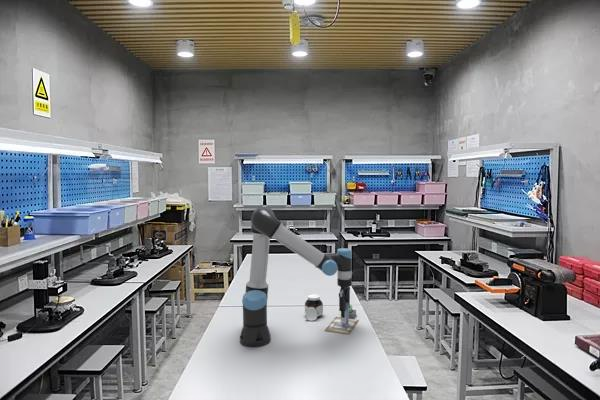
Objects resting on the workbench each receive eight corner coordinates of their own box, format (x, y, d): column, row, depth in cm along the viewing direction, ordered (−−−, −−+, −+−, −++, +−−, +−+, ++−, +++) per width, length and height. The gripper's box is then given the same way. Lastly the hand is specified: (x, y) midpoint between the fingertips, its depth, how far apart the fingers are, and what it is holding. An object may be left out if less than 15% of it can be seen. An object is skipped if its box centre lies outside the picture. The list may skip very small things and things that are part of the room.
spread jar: (319, 312, 237) (319, 293, 236) (327, 319, 226) (327, 299, 225) (300, 315, 232) (299, 295, 231) (307, 322, 222) (307, 301, 221)
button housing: (353, 319, 226) (353, 314, 225) (340, 317, 228) (340, 312, 228) (356, 315, 232) (356, 309, 232) (344, 313, 235) (344, 308, 235)
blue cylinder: (347, 325, 213) (347, 304, 212) (340, 324, 214) (339, 303, 213) (349, 322, 216) (349, 302, 216) (342, 321, 218) (342, 301, 217)
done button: (351, 314, 227) (351, 307, 227) (343, 313, 229) (343, 306, 229) (353, 312, 231) (353, 305, 231) (346, 311, 233) (345, 304, 232)
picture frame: (349, 334, 205) (349, 333, 205) (324, 331, 210) (324, 329, 210) (358, 320, 223) (358, 319, 223) (336, 317, 228) (336, 316, 228)
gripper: (347, 282, 204) (347, 328, 206) (355, 274, 220) (355, 316, 222) (332, 281, 207) (333, 326, 209) (342, 273, 223) (342, 315, 224)
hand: (344, 321), depth 215 cm, fingers closed on blue cylinder, 4 cm apart
